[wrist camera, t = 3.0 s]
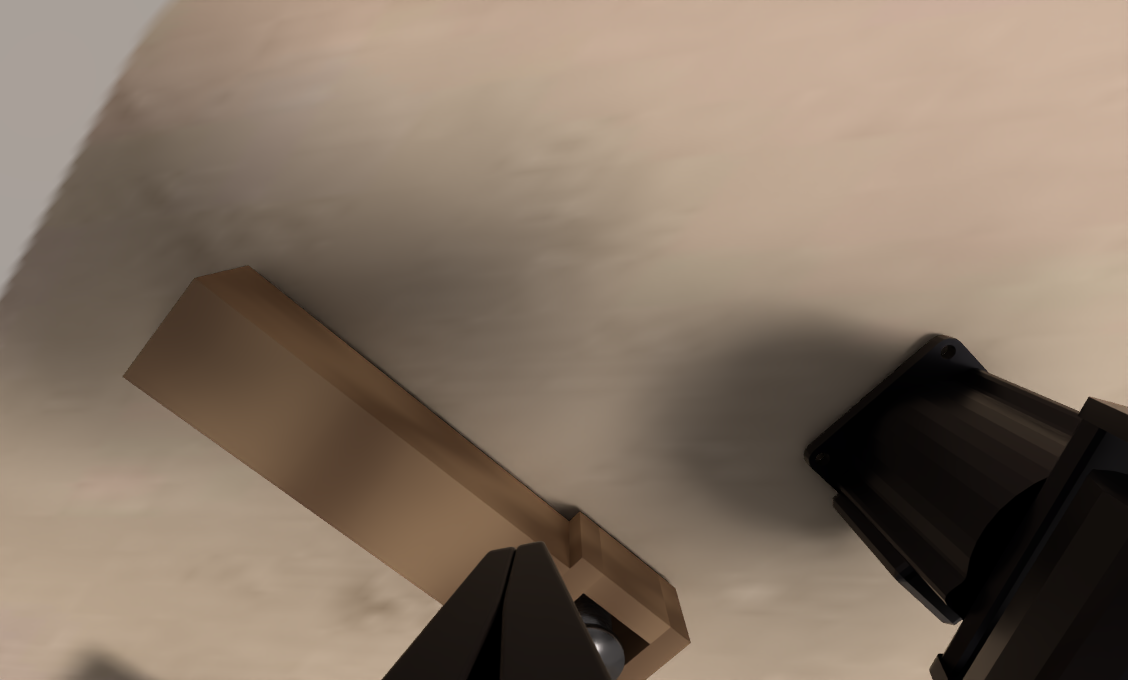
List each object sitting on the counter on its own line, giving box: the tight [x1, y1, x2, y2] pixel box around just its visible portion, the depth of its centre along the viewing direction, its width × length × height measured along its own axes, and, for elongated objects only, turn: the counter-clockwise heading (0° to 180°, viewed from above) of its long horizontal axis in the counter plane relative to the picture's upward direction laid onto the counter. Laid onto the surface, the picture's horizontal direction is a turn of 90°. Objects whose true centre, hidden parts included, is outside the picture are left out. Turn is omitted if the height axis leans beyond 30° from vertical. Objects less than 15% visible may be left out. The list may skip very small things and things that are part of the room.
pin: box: [574, 593, 625, 680], centre depth 19 cm, size 3×3×4 cm
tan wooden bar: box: [123, 266, 691, 680], centre depth 18 cm, size 20×5×3 cm, turn 47°
